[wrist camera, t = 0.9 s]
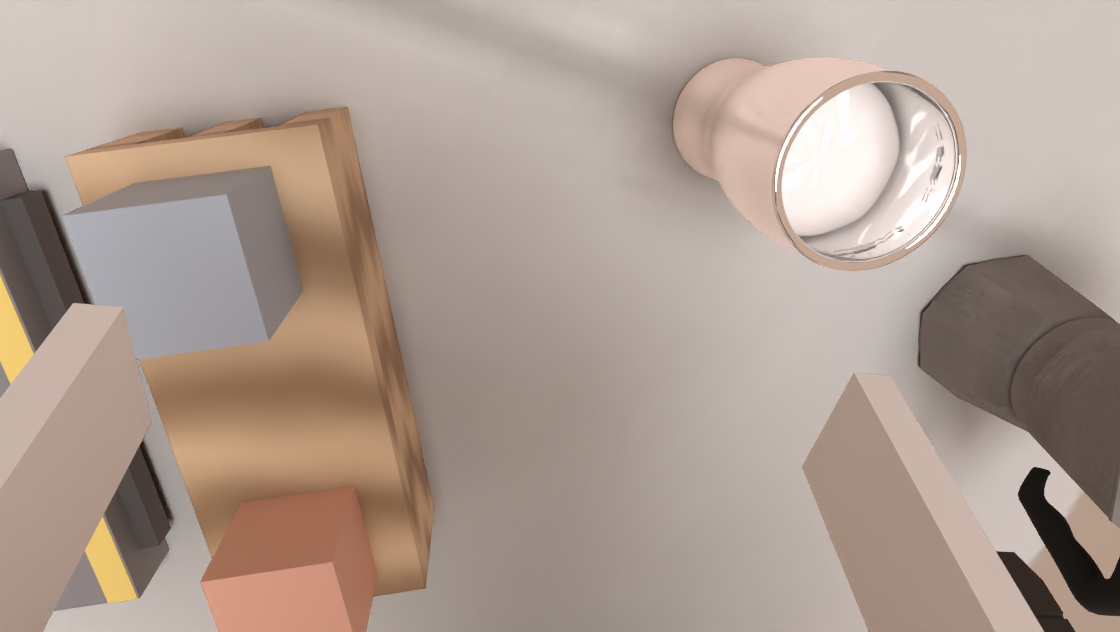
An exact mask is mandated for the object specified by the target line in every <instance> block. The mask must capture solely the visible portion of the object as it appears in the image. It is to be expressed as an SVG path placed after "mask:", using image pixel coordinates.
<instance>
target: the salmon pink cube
mask: <svg viewBox="0 0 1120 632" xmlns="http://www.w3.org/2000/svg"><path fill="white" fill-rule="evenodd" d="M376 579H377V571H376V567H375V563H374V559H373V555H372V552H371V548H370V544H369V540H368V536H367V533H366V529H365V525H364V521H363V517H362V513H361V510H360V506H359V502H358V498H357V494H356V491H355V487H354V486H350V487H343V488H337V489H330V490H323V491H316V492H310V493H303V494H296V495H289V496H283V497H276V498H269V499H262V500H256V501H249V502H242V503H241V504H240V506H239V508H238V510H237V512H236V513H235V515H234V517H233V519H232V521H231V523H230V525H229V527H228V529H227V531H226V533H225V535H224V537H223V539H222V541H221V543H220V545H219V547H218V549H217V551H216V553H215V554H214V556H213V558H212V560H211V562H210V564H209V566H208V568H207V570H206V572H205V574H204V576H203V578H202V580H201V582H200V583H201V586H202V588H203V591H204V593H205V596H206V599H207V601H208V604H209V607H210V609H211V612H212V615H213V617H214V620H215V622H216V625H217V628H218V630H219V632H366V629H367V624H368V619H369V614H370V609H371V604H372V599H373V594H374V589H375V584H376Z"/></svg>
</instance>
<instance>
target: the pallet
mask: <svg viewBox="0 0 1120 632" xmlns="http://www.w3.org/2000/svg"><path fill="white" fill-rule="evenodd" d="M65 158H66V160H67V163H68V166H69V168H70V171H71V174H72V177H73V179H74V182H75V185H76V188H77V190H78V193H79V196H80V199H81V201H82V204H83V206H85V205H87V204H89V203H91V202H93V201H96V200H98V199H100V198H102V197H105V196H107V195H109V194H111V193H113V192H116V191H118V190H120V189H122V188H124V187H127V186H129V185H131V184H133V183H139V182H147V181H155V180H163V179H170V178H178V177H186V176H194V175H202V174H209V173H217V172H225V171H233V170H241V169H248V168H256V167H264V166H271V169H272V173H273V177H274V181H275V184H276V188H277V192H278V196H279V200H280V204H281V207H282V211H283V215H284V219H285V223H286V227H287V230H288V234H289V238H290V242H291V246H292V249H293V253H294V257H295V261H296V265H297V269H298V272H299V276H300V280H301V284H302V288H303V292H302V294H301V295H300V297H299V298H298V300H297V301H296V302H295V304H294V305H293V307H292V308H291V310H290V311H289V313H288V314H287V316H286V317H285V319H284V320H283V321H282V323H281V324H280V326H279V327H278V329H277V330H276V332H275V333H274V335H273V336H272V337H271V339H270V340H269V341H268V342H261V343H253V344H246V345H239V346H232V347H225V348H217V349H210V350H203V351H196V352H189V353H181V354H174V355H167V356H160V357H153V358H145V359H139V360H140V362H141V365H142V368H143V371H144V373H145V376H146V379H147V382H148V384H149V387H150V390H151V393H152V395H153V398H154V401H155V403H156V406H157V409H158V412H159V414H160V417H161V420H162V423H163V425H164V428H165V431H166V434H167V436H168V439H169V442H170V444H171V447H172V450H173V453H174V455H175V458H176V461H177V464H178V466H179V469H180V472H181V475H182V477H183V480H184V483H185V485H186V488H187V491H188V494H189V496H190V499H191V502H192V505H193V507H194V510H195V513H196V516H197V518H198V521H199V524H200V526H201V529H202V532H203V535H204V537H205V540H206V543H207V546H208V548H209V551H210V554H211V557H212V558H213V556H214V554H215V553H216V551H217V549H218V547H219V545H220V543H221V541H222V539H223V537H224V535H225V533H226V531H227V529H228V527H229V525H230V523H231V521H232V519H233V517H234V515H235V513H236V512H237V510H238V508H239V506H240V504H241V503H242V502H249V501H256V500H262V499H269V498H276V497H283V496H289V495H296V494H303V493H310V492H316V491H323V490H330V489H337V488H343V487H350V486H354V487H355V491H356V494H357V498H358V502H359V506H360V510H361V513H362V517H363V521H364V525H365V529H366V533H367V536H368V540H369V544H370V548H371V552H372V555H373V559H374V563H375V567H376V571H377V579H376V584H375V589H374V594H373V596H380V595H386V594H392V593H399V592H405V591H412V590H418V589H425V588H426V580H427V571H428V561H429V552H430V543H431V534H432V524H433V515H434V507H433V502H432V497H431V493H430V488H429V483H428V479H427V474H426V470H425V465H424V460H423V456H422V451H421V446H420V442H419V437H418V432H417V428H416V423H415V418H414V414H413V409H412V405H411V400H410V395H409V391H408V386H407V381H406V377H405V372H404V367H403V363H402V358H401V353H400V349H399V344H398V339H397V335H396V330H395V326H394V321H393V316H392V312H391V307H390V302H389V298H388V293H387V288H386V284H385V279H384V274H383V270H382V265H381V261H380V256H379V251H378V247H377V242H376V237H375V233H374V228H373V223H372V219H371V214H370V209H369V205H368V200H367V196H366V191H365V186H364V182H363V177H362V172H361V168H360V163H359V158H358V154H357V149H356V144H355V140H354V135H353V131H352V126H351V121H350V117H349V112H348V107H342V108H334V109H326V110H318V111H310V112H305V113H303V114H301V115H299V116H297V117H295V118H293V119H291V120H289V121H287V122H285V123H283V124H281V125H279V126H274V127H266V128H263V124H262V120H261V118H255V119H247V120H239V121H231V122H226V123H223V124H221V125H218V126H216V127H213V128H210V129H208V130H205V131H202V132H200V133H197V134H195V135H192V136H189V137H187V138H185V137H184V134H183V130H182V128H175V129H167V130H159V131H151V132H143V133H138V134H135V135H132V136H128V137H125V138H122V139H119V140H116V141H113V142H110V143H106V144H103V145H100V146H97V147H94V148H91V149H87V150H84V151H81V152H78V153H75V154H72V155H68V156H65Z"/></svg>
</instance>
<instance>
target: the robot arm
mask: <svg viewBox="0 0 1120 632" xmlns="http://www.w3.org/2000/svg"><path fill="white" fill-rule="evenodd" d="M150 424H151V418H150V414H149V410H148V406H147V402H146V397H145V393H144V389H143V385H142V381H141V377H140V373H139V369H138V365H137V361H136V357H135V353H134V349H133V345H132V341H131V337H130V333H129V329H128V325H127V321H126V317H125V313H124V309H123V307H114V306H102V305H91V304H80V303H73V304H72V305H71V307H70V308H69V309H68V310H67V312H66V313H65V314H64V316H63V317H62V318H61V320H60V321H59V322H58V323H57V325H56V326H55V327H54V329H53V330H52V331H51V333H50V334H49V335H48V337H47V338H46V339H45V340H44V342H43V343H42V344H41V346H40V347H39V348H38V350H37V351H36V352H35V353H34V355H33V356H32V357H31V359H30V360H29V361H28V363H27V364H26V365H25V366H24V368H23V369H22V370H21V372H20V373H19V374H18V376H17V377H16V378H15V379H14V381H13V382H12V383H11V385H10V386H9V387H8V389H7V390H6V391H5V392H4V394H3V395H2V396H1V398H0V632H43V630H44V628H45V626H46V624H47V622H48V620H49V619H50V617H51V615H52V613H53V611H54V609H55V607H56V605H57V603H58V601H59V599H60V597H61V595H62V594H63V592H64V590H65V588H66V586H67V584H68V582H69V580H70V578H71V576H72V574H73V572H74V570H75V569H76V567H77V565H78V563H79V561H80V559H81V557H82V555H83V553H84V551H85V549H86V547H87V545H88V544H89V542H90V540H91V538H92V536H93V534H94V532H95V530H96V528H97V526H98V524H99V522H100V520H101V519H102V517H103V515H104V513H105V511H106V509H107V507H108V505H109V503H110V501H111V499H112V497H113V496H114V494H115V492H116V490H117V488H118V486H119V484H120V482H121V480H122V478H123V476H124V474H125V472H126V471H127V469H128V467H129V465H130V463H131V461H132V459H133V457H134V455H135V453H136V451H137V449H138V447H139V446H140V444H141V442H142V440H143V438H144V436H145V434H146V432H147V430H148V428H149V426H150ZM802 468H803V470H804V473H805V475H806V478H807V480H808V483H809V485H810V488H811V490H812V493H813V495H814V497H815V500H816V502H817V505H818V507H819V510H820V512H821V515H822V517H823V520H824V522H825V525H826V527H827V530H828V532H829V535H830V537H831V540H832V542H833V544H834V547H835V549H836V552H837V554H838V557H839V559H840V562H841V564H842V567H843V569H844V572H845V574H846V577H847V579H848V582H849V584H850V587H851V589H852V592H853V594H854V596H855V599H856V601H857V604H858V606H859V609H860V611H861V614H862V616H863V619H864V621H865V624H866V626H867V629H868V631H869V632H1075V631H1074V629H1073V627H1072V626H1071V624H1070V623H1069V621H1068V619H1064V618H1063V612H1062V610H1061V609H1060V607H1059V605H1058V604H1057V602H1056V601H1055V599H1054V598H1053V596H1052V594H1051V593H1050V591H1049V590H1048V588H1047V586H1046V585H1045V583H1044V582H1043V580H1042V579H1041V578H1039V576H1038V575H1037V574H1036V573H1035V572H1034V571H1032V570H1031V569H1030V568H1029V567H1028V566H1027V565H1026V564H1025V563H1024V562H1023V561H1022V560H1021V559H1020V558H1019V557H1018V556H1017V555H1016V554H1015V553H1014V552H998V551H995V549H994V547H993V546H992V544H991V542H990V541H989V539H988V537H987V536H986V534H985V532H984V531H983V529H982V527H981V526H980V524H979V522H978V521H977V519H976V517H975V516H974V514H973V512H972V511H971V509H970V507H969V506H968V504H967V502H966V501H965V499H964V497H963V496H962V494H961V492H960V491H959V489H958V487H957V486H956V484H955V482H954V481H953V479H952V477H951V476H950V474H949V472H948V471H947V469H946V467H945V466H944V464H943V462H942V461H941V459H940V457H939V456H938V454H937V452H936V451H935V449H934V447H933V446H932V444H931V442H930V441H929V439H928V437H927V436H926V434H925V432H924V431H923V429H922V427H921V426H920V424H919V422H918V421H917V419H916V417H915V416H914V414H913V412H912V411H911V409H910V407H909V406H908V404H907V402H906V401H905V399H904V397H903V396H902V394H901V392H900V391H899V389H898V387H897V386H896V384H895V382H894V381H893V379H892V377H891V376H887V375H876V374H865V373H853V375H852V377H851V379H850V381H849V382H848V384H847V386H846V388H845V390H844V391H843V393H842V395H841V397H840V399H839V401H838V402H837V404H836V406H835V408H834V410H833V411H832V413H831V415H830V417H829V419H828V421H827V422H826V424H825V426H824V428H823V430H822V431H821V433H820V435H819V437H818V439H817V441H816V442H815V444H814V446H813V448H812V450H811V451H810V453H809V455H808V457H807V459H806V461H805V462H804V464H803V466H802Z"/></svg>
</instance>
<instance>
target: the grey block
mask: <svg viewBox="0 0 1120 632" xmlns="http://www.w3.org/2000/svg"><path fill="white" fill-rule="evenodd" d="M62 219H63V221H64V224H65V227H66V229H67V232H68V235H69V237H70V240H71V243H72V245H73V248H74V250H75V253H76V256H77V258H78V261H79V264H80V266H81V269H82V272H83V274H84V277H85V279H86V282H87V285H88V287H89V290H90V293H91V295H92V298H93V301H94V303H95V305H102V306H114V307H123V309H124V313H125V317H126V321H127V325H128V329H129V333H130V337H131V341H132V345H133V349H134V353H135V357H136V360H138V359H145V358H153V357H160V356H167V355H174V354H181V353H189V352H196V351H203V350H210V349H217V348H225V347H232V346H239V345H246V344H253V343H261V342H268V341H269V340H270V339H271V337H272V336H273V335H274V333H275V332H276V330H277V329H278V327H279V326H280V324H281V323H282V321H283V320H284V319H285V317H286V316H287V314H288V313H289V311H290V310H291V308H292V307H293V305H294V304H295V302H296V301H297V300H298V298H299V297H300V295H301V294H302V292H303V288H302V284H301V280H300V276H299V272H298V269H297V265H296V261H295V257H294V253H293V249H292V246H291V242H290V238H289V234H288V230H287V227H286V223H285V219H284V215H283V211H282V207H281V204H280V200H279V196H278V192H277V188H276V184H275V181H274V177H273V173H272V169H271V166H264V167H256V168H248V169H241V170H233V171H225V172H217V173H209V174H202V175H194V176H186V177H178V178H170V179H163V180H155V181H147V182H139V183H133V184H131V185H129V186H127V187H124V188H122V189H120V190H118V191H116V192H113V193H111V194H109V195H107V196H105V197H102V198H100V199H98V200H96V201H93V202H91V203H89V204H87V205H85V206H82V207H80V208H78V209H76V210H74V211H71V212H69V213H67V214H65V215H62Z"/></svg>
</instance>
